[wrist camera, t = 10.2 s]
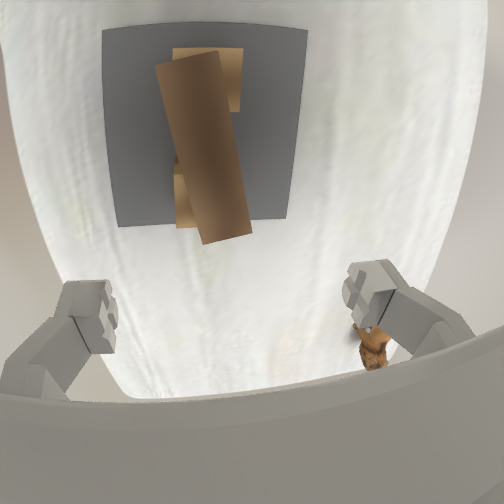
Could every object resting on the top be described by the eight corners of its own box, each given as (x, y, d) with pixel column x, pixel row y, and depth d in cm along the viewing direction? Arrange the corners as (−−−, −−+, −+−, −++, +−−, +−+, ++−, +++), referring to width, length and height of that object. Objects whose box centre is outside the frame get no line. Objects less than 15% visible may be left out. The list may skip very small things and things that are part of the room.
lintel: (200, 225, 27) (203, 244, 25) (159, 63, 19) (154, 65, 16) (245, 214, 27) (252, 233, 25) (214, 50, 19) (218, 50, 16)
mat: (103, 30, 20) (102, 30, 19) (306, 30, 23) (307, 30, 23) (118, 225, 31) (118, 227, 31) (284, 216, 35) (285, 218, 35)
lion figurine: (366, 337, 54) (387, 377, 46) (342, 340, 52) (362, 382, 45) (404, 275, 45) (434, 316, 38) (379, 275, 44) (408, 319, 37)
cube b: (175, 154, 28) (173, 174, 24) (228, 152, 29) (236, 172, 25) (177, 201, 31) (176, 228, 27) (226, 199, 32) (233, 225, 28)
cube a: (175, 49, 22) (172, 48, 18) (233, 48, 23) (243, 48, 19) (174, 102, 25) (171, 113, 21) (230, 101, 26) (239, 112, 22)
